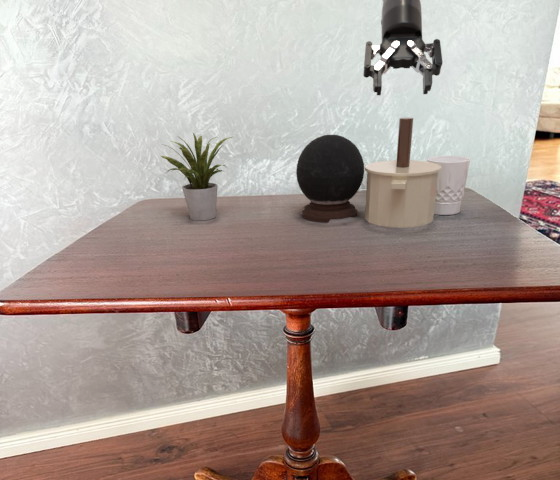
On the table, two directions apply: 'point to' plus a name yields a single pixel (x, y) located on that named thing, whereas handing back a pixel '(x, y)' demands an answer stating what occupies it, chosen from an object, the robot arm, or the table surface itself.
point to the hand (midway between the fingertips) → (402, 91)
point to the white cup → (450, 183)
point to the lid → (403, 157)
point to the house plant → (198, 179)
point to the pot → (400, 200)
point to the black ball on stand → (330, 177)
